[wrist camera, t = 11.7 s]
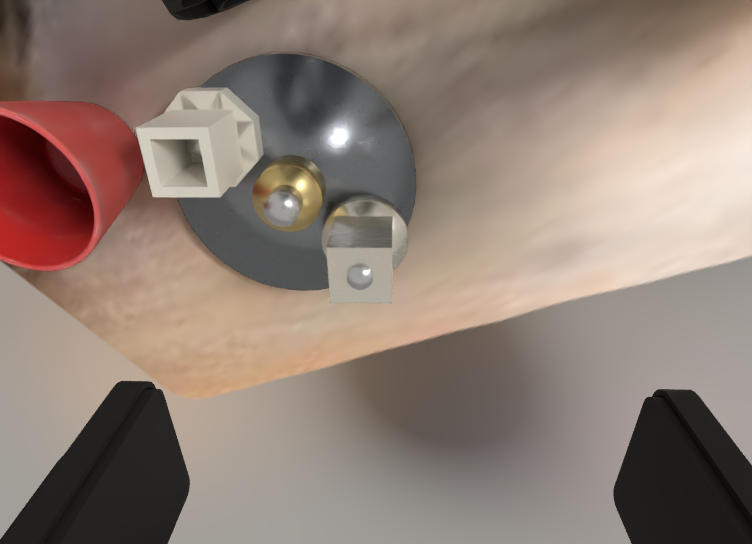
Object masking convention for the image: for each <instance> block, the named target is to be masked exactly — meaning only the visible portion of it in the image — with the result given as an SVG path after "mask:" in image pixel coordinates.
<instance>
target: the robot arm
mask: <svg viewBox="0 0 752 544" xmlns="http://www.w3.org/2000/svg"><path fill="white" fill-rule="evenodd" d="M189 485H190V480H189V475H188V472H187V469H186V465H185V462H184V459H183V455H182V452H181V449H180V446H179V442H178V439H177V436H176V433H175V429H174V426H173V423H172V420H171V417H170V414H169V410H168V407H167V403H166V400H165V397H164V394H163V392H162V390H160V389H156V388H155V385H154V384H153V383H152V382H148V381H147V382H146V381H121V382H118V383H117V384H116V385H115V386H114V387H113V389H112V390H111V391H110V393H109V394H108V396H107V397H106V398H105V400H104V401H103V402H102V404H101V405H100V407H99V408H98V409H97V411H96V412H95V413H94V415H93V416H92V417H91V419H90V420H89V421H88V423H87V424H86V426H85V427H84V428H83V430H82V431H81V433H80V434H79V435H78V437H77V438H76V439H75V441H74V442H73V443H72V445H71V446H70V448H69V449H68V450H67V452H66V453H65V454H64V455H63V456H62V457H61V459H60V460H59V461H58V462H57V463H56V465H55V466H54V467H53V469H52V470H51V471H50V473H49V474H48V475H47V477H46V478H45V480H44V481H43V482H42V484H41V485H40V486H39V488H38V489H37V490H36V492H35V493H34V494H33V496H32V497H31V499H30V500H29V501H28V503H27V504H26V505H25V507H24V508H23V509H22V511H21V512H20V513H19V515H18V516H17V518H16V519H15V520H14V522H13V523H12V524H11V526H10V527H9V529H8V530H7V531H6V533H5V534H4V535H3V537H2V538H1V539H0V544H168V541H169V539H170V536H171V534H172V532H173V529H174V527H175V525H176V522H177V520H178V517H179V515H180V513H181V510H182V508H183V506H184V503H185V501H186V498H187V496H188V492H189ZM613 495H614V501H615V506H616V508H617V511H618V513H619V515H620V518H621V520H622V522H623V525H624V527H625V529H626V532H627V534H628V536H629V538H630V541H631V543H632V544H752V465H751V464H750V463H749V461H748V460H747V459H746V458H745V456H744V455H743V453H742V452H741V451H740V450H739V448H738V447H737V446H736V444H735V443H734V442H733V440H732V439H731V438H730V436H729V435H728V434H727V432H726V431H725V430H724V429H723V427H722V426H721V425H720V423H719V422H718V421H717V419H716V418H715V417H714V416H713V414H712V413H711V411H710V410H709V409H708V408H707V406H706V405H705V404H704V402H703V401H702V400H701V398H700V397H699V396H698V395H697V394H696V393H695V392H694V391H692V390H669V389H659V390H657V391H655V392H654V394H653V396H652V397H647V398H646V399H645V401H644V403H643V406H642V409H641V411H640V415H639V417H638V420H637V423H636V426H635V429H634V432H633V434H632V437H631V440H630V443H629V446H628V449H627V452H626V455H625V458H624V460H623V463H622V466H621V469H620V472H619V475H618V478H617V481H616V483H615V486H614V494H613Z"/></svg>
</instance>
